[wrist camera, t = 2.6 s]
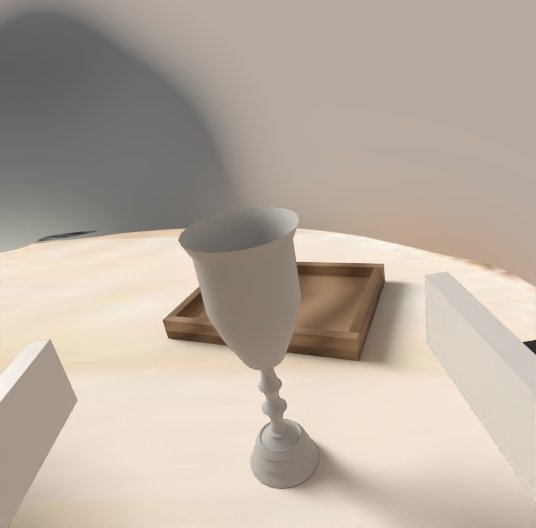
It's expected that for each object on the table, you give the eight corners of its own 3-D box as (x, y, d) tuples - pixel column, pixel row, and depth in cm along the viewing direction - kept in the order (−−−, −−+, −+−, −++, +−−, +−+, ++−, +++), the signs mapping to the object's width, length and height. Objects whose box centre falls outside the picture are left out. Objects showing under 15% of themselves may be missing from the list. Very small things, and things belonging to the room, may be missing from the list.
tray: (168, 337, 48) (162, 320, 47) (230, 275, 61) (227, 260, 60) (358, 360, 39) (356, 339, 38) (384, 281, 52) (383, 263, 51)
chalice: (346, 485, 28) (316, 233, 21) (247, 516, 27) (179, 264, 20) (313, 410, 34) (281, 199, 27) (232, 433, 34) (177, 221, 26)
